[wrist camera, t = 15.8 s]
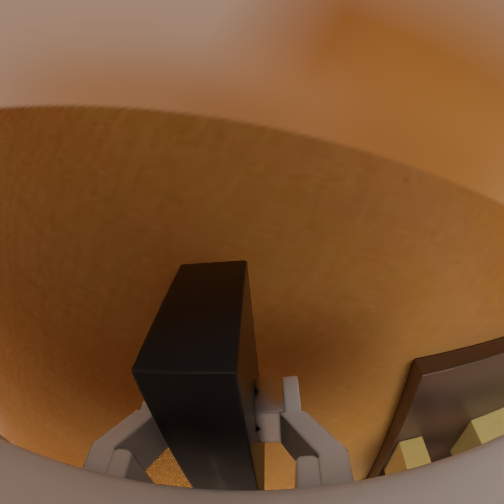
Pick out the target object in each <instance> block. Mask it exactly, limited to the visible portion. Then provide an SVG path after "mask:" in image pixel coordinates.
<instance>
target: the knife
mask: <svg viewBox="0 0 504 504" xmlns="http://www.w3.org/2000/svg"><path fill="white" fill-rule="evenodd" d="M132 374H133V377H134V379H135V381H136V383H137V386H138V388H139V390H140V392H141V394H142V396H143V398H144V401H145V403H146V405H147V407H148V409H149V411H150V413H151V415H152V417H153V419H154V421H155V423H156V425H157V426H158V428H159V430H160V432H161V434H162V436H163V438H164V440H165V441H166V443H167V445H168V447H169V449H170V450H171V452H172V454H173V456H174V457H175V459H176V461H177V463H178V464H179V466H180V468H181V469H182V471H183V473H184V474H185V476H186V477H187V479H188V481H189V482H190V484H191V485H192V487H193V488H198V489H213V490H264V442H258V438H257V432H256V431H257V426H256V425H255V418H254V396H255V388H254V387H255V378H259V372H258V363H257V353H256V344H255V334H254V325H253V316H252V306H251V296H250V287H249V277H248V267H247V262H246V261H245V260H243V261H228V262H212V263H197V264H182V265H181V266H180V268H179V270H178V272H177V274H176V276H175V278H174V280H173V282H172V284H171V286H170V288H169V290H168V292H167V294H166V296H165V298H164V300H163V302H162V304H161V306H160V308H159V311H158V313H157V315H156V317H155V319H154V321H153V323H152V325H151V328H150V330H149V332H148V334H147V336H146V338H145V341H144V343H143V345H142V347H141V349H140V352H139V354H138V356H137V358H136V360H135V363H134V365H133V367H132Z"/></svg>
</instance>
